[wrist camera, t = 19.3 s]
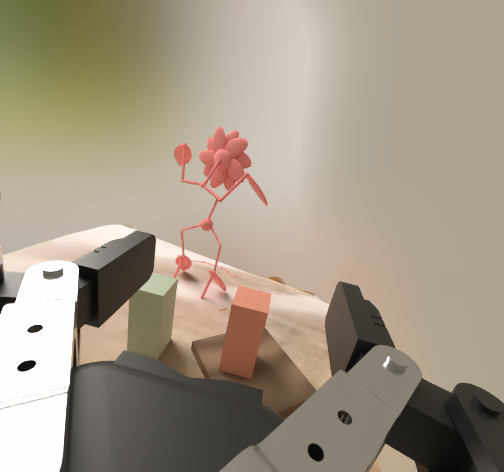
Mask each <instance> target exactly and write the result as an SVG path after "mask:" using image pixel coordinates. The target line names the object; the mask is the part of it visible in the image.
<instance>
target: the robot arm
mask: <svg viewBox="0 0 504 472" xmlns="http://www.w3.org/2000/svg"><path fill="white" fill-rule="evenodd" d="M155 245H156V238H155V236H154V235H152V234H148V233H144V232H140V231H135V232H133V233H132V234H130V235H128V236H126V237H125V238H121V239H117V240H113V241H110V242H108V243H106V244H104V245H102V246H101V247H99V248H97V249H95V250H94V251H92V252H90V253H88V254H86V255H84V256H82V257H81V258H79V259H77V260H75V261H73V262H72V263H71V262H66V261H50V262H44V263H40V264H37V265H35V266H33V267H31V268H30V269H28V270H27V272H26V273H20V272H4V265H3V258H2V251H1V245H0V472H369V470H370V469H371V467H372V465H373V464H374V462H375V460H376V459H377V457H378V455H379V453H380V452H381V450H382V448H383V447H384V445H385V443H386V444H387V445H389V446H391V447H392V448H394V449H396V450H397V451H399V452H401V453H402V454H404V455H406V456H407V457H409V458H411V459H412V460H414V461H415V463H416V467H417V470H418V472H504V403H503V402H501V401H500V400H499V399H498V398H496V397H495V396H493V395H492V394H490V393H489V392H487V391H485V390H483V389H482V388H479V387H477V386H475V385H472V384H468V383H459V384H457V385H456V386H455V388H454V389H453V391H452V393H451V392H449V391H446V390H444V389H442V388H440V387H438V386H436V385H434V384H432V383H430V382H428V381H426V380H424V379H423V378H422V373H421V370H420V368H419V367H418V365H417V364H416V363H415V362H414V361H413V360H412V359H411V358H410V357H409V356H407V355H406V354H405V353H403V352H401V351H400V350H397V349H396V348H395V346H394V343H393V341H392V339H391V337H390V335H389V333H388V331H387V328H386V327H385V324H384V322H383V320H382V317H381V315H380V313H379V311H378V309H377V308H376V307H375V306H374V305H373V304H372V303H371V302H370V301H368V300H364V298H363V296H362V293H361V291H360V288H359V287H358V286H356V285H352V284H348V283H344V282H339V283H338V284H337V286H336V289H335V292H334V295H333V298H332V300H331V303H330V306H329V309H328V312H327V315H326V320H325V330H326V338H327V345H328V352H329V359H330V366H331V373H332V377H331V378H330V379H329V380H328V381H327V382H326V383H325V384H324V385H323V386H321V387H320V388H319V389H318V390H317V391H316V392H315V393H314V394H313V395H312V396H311V397H310V398H308V399H307V400H306V401H305V402H304V403H303V404H302V405H301V406H300V407H299V408H298V409H297V410H295V411H294V412H293V413H292V414H291V415H290V416H289V417H288V418H287V419H286V420H284V419H283V418H282V417H281V416H279V415H278V414H277V413H276V412H275V411H273V410H272V409H271V408H269V407H268V406H266V405H265V404H263V403H262V398H263V391H264V390H261V389H258V388H254V387H251V386H247V385H244V384H240V383H237V382H233V381H230V380H218V379H200V378H189V377H186V376H184V375H183V374H181V373H179V372H177V371H176V370H174V369H172V368H171V367H169V366H167V365H165V364H164V363H162V362H160V361H158V360H156V359H153V358H149V357H146V356H142V355H139V354H135V353H132V352H128V351H125V350H124V351H123V352H122V353H121V354H120V356H119V357H118V358H117V359H116V360H115V361H99V362H92V363H88V364H83V365H80V343H81V327H82V326H83V325H85V324H87V325H90V326H94V327H97V328H99V327H100V326H101V325H102V324H103V323H104V322H105V321H106V320H107V319H109V318H110V317H111V316H112V315H113V314H114V313H115V312H116V311H117V310H118V309H119V308H120V307H121V306H122V305H123V304H124V303H125V302H126V301H127V300H128V299H130V298H131V297H132V296H133V295H134V294H135V293H136V292H137V291H138V290H139V289H140V288H141V287H142V286H143V285H144V284H145V283H146V282H147V281H148V280H149V279H150V277H151V275H152V273H153V269H154V258H155Z"/></svg>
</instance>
